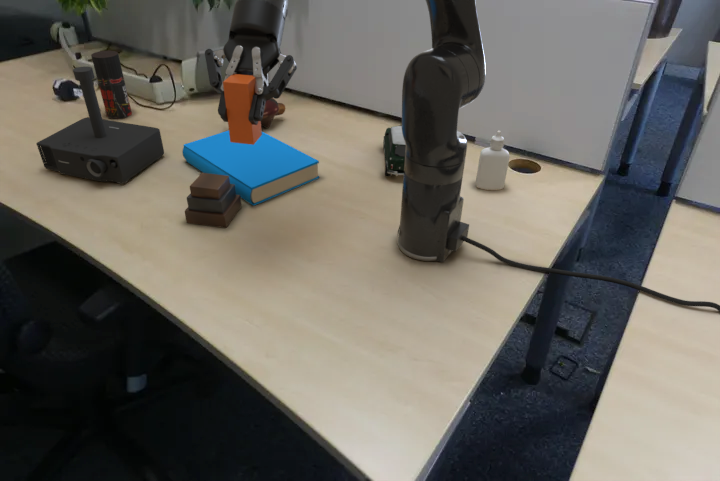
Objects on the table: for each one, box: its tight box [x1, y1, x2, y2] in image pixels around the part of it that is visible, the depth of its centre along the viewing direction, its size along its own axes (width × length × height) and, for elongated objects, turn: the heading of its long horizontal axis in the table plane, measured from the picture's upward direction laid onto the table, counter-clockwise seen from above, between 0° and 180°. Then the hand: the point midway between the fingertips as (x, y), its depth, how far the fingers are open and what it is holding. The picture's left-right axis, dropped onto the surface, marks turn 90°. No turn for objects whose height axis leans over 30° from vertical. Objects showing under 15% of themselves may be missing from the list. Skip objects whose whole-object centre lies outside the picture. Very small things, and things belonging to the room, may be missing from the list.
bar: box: [223, 74, 263, 145], centre depth 79 cm, size 4×4×9 cm
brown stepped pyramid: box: [184, 172, 242, 229], centre depth 98 cm, size 8×8×7 cm
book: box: [182, 129, 320, 207], centre depth 114 cm, size 17×4×25 cm
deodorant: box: [90, 50, 133, 120], centre depth 134 cm, size 6×6×15 cm
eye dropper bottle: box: [475, 130, 511, 191], centre depth 108 cm, size 4×6×12 cm
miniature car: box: [382, 124, 406, 177], centre depth 117 cm, size 9×18×8 cm, turn 0°
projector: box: [36, 66, 165, 184], centre depth 110 cm, size 19×17×20 cm
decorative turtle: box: [261, 98, 286, 129], centre depth 132 cm, size 10×15×8 cm, turn 130°
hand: (239, 120), depth 78 cm, fingers closed on bar, 3 cm apart
